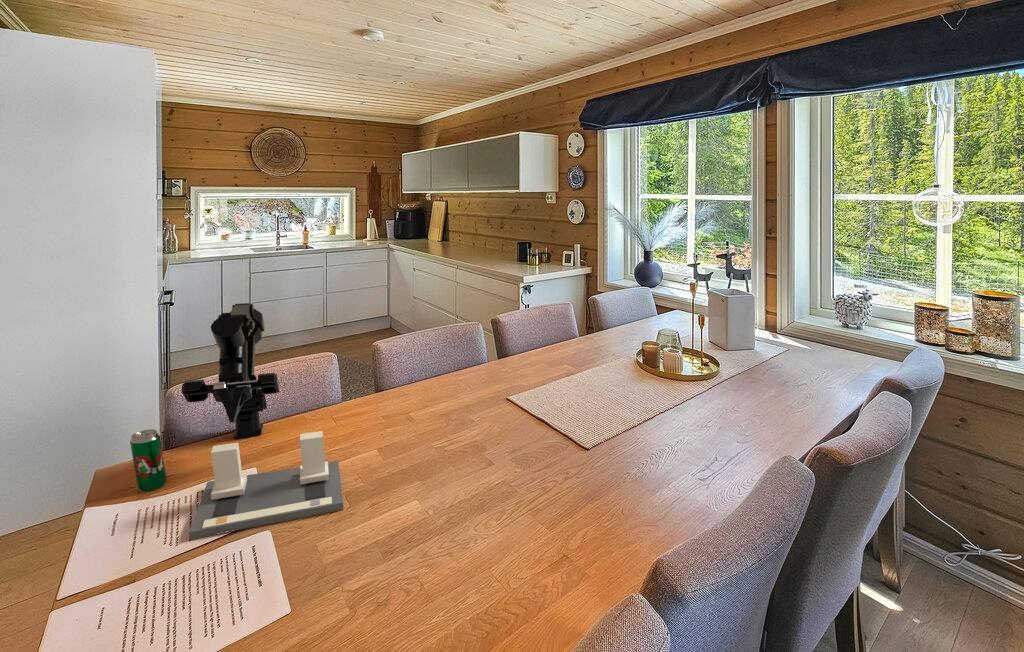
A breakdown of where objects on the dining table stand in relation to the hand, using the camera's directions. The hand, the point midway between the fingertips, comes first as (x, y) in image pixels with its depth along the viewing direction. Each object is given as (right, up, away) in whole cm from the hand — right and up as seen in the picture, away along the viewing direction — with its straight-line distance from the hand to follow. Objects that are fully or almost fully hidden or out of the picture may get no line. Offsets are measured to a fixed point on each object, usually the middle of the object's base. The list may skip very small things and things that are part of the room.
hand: (232, 422), depth 108 cm
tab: (+19, -11, -2) cm, 22 cm away
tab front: (+4, -12, -8) cm, 15 cm away
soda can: (-15, -13, -3) cm, 20 cm away
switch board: (+12, -14, -7) cm, 20 cm away
